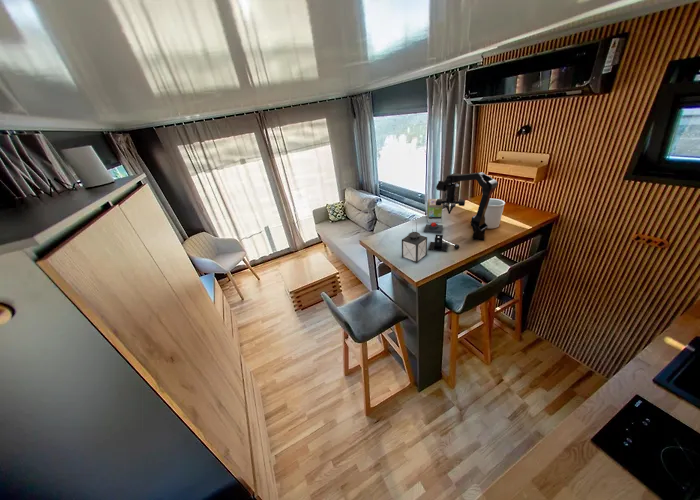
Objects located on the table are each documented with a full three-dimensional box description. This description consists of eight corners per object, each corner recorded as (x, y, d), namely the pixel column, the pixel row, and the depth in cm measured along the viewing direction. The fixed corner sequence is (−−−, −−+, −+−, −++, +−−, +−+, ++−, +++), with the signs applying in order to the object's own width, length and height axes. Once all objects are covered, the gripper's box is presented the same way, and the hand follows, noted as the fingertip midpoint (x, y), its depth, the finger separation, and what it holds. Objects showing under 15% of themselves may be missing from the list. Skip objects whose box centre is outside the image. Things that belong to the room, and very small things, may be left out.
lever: (458, 248, 161) (460, 244, 159) (457, 250, 159) (460, 247, 157) (435, 238, 164) (438, 234, 162) (435, 241, 162) (437, 237, 160)
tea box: (441, 222, 195) (442, 204, 188) (428, 223, 198) (428, 205, 190) (439, 215, 208) (440, 197, 200) (426, 215, 210) (427, 198, 203)
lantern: (416, 263, 152) (417, 221, 138) (401, 257, 160) (401, 217, 145) (426, 255, 159) (428, 214, 144) (411, 250, 166) (412, 210, 152)
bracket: (447, 244, 167) (448, 233, 162) (446, 252, 159) (447, 240, 155) (430, 243, 171) (431, 232, 167) (428, 250, 163) (428, 239, 159)
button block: (442, 227, 188) (442, 222, 186) (441, 233, 180) (441, 228, 178) (426, 226, 193) (426, 221, 191) (424, 232, 185) (424, 227, 183)
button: (436, 224, 185) (436, 222, 184) (435, 226, 183) (436, 224, 182) (431, 224, 187) (431, 222, 186) (430, 226, 184) (430, 224, 183)
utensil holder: (485, 218, 192) (488, 196, 184) (504, 224, 181) (509, 201, 172) (473, 224, 186) (476, 202, 177) (492, 230, 175) (497, 207, 166)
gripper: (466, 188, 174) (463, 209, 182) (438, 188, 182) (436, 209, 190) (465, 194, 166) (463, 216, 174) (436, 193, 173) (435, 214, 181)
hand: (449, 213), depth 180 cm, fingers closed
